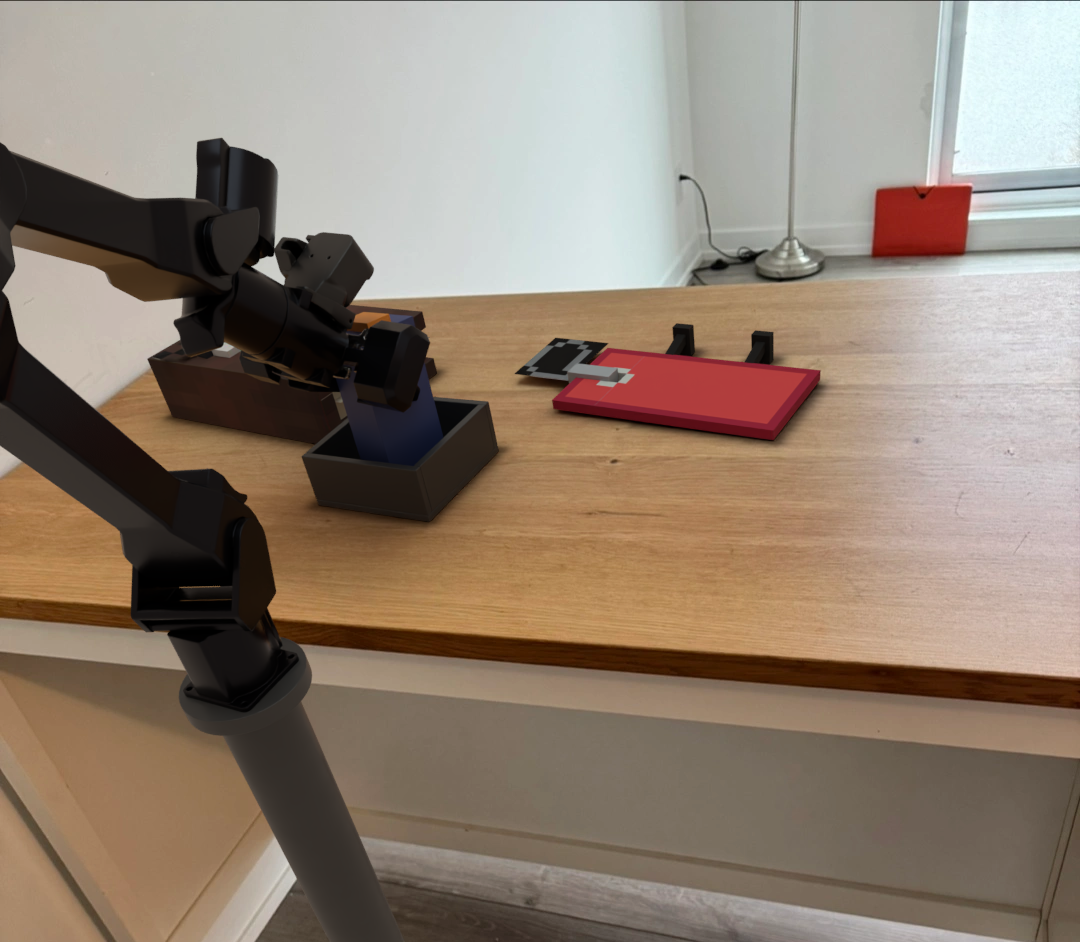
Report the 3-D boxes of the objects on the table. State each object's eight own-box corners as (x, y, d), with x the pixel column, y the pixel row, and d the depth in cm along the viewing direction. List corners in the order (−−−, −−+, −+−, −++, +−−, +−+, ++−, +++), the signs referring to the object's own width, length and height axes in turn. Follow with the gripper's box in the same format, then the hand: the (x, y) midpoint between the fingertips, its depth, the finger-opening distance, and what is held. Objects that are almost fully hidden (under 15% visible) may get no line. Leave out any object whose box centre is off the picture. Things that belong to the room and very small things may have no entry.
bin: (429, 522, 88) (415, 470, 84) (318, 505, 93) (300, 456, 90) (499, 451, 95) (488, 401, 92) (392, 439, 101) (378, 391, 97)
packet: (396, 489, 90) (350, 331, 82) (367, 482, 93) (320, 328, 85) (449, 461, 93) (410, 306, 85) (419, 454, 96) (378, 303, 88)
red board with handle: (565, 338, 111) (491, 404, 103) (561, 312, 109) (485, 378, 101) (834, 366, 97) (773, 445, 88) (835, 337, 95) (773, 415, 87)
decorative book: (322, 383, 94) (121, 354, 109) (346, 457, 99) (150, 419, 114) (445, 300, 105) (246, 283, 120) (460, 370, 110) (268, 345, 125)
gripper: (379, 217, 71) (507, 311, 84) (215, 204, 81) (352, 290, 94) (332, 374, 72) (465, 443, 85) (177, 342, 82) (317, 408, 95)
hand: (398, 390), depth 90 cm, fingers closed on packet, 4 cm apart
